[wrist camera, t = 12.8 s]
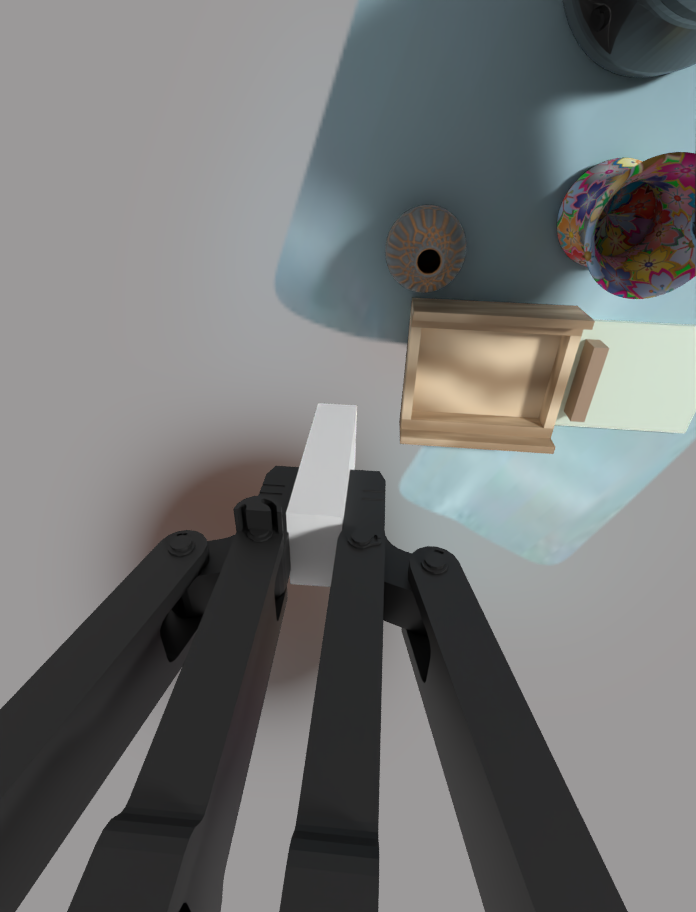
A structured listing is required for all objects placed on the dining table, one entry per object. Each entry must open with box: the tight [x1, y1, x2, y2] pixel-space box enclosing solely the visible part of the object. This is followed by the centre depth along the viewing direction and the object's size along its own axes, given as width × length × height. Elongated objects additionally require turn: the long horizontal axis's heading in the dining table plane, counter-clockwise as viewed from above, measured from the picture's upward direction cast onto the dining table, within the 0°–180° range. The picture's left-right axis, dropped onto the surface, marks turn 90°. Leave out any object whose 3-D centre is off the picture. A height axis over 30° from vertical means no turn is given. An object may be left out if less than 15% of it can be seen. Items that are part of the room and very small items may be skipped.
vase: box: [385, 205, 466, 293], centre depth 41 cm, size 7×7×9 cm
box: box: [400, 298, 595, 454], centre depth 49 cm, size 14×16×5 cm
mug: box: [557, 152, 696, 299], centre depth 38 cm, size 12×9×11 cm
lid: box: [555, 319, 696, 433], centre depth 49 cm, size 12×15×4 cm
